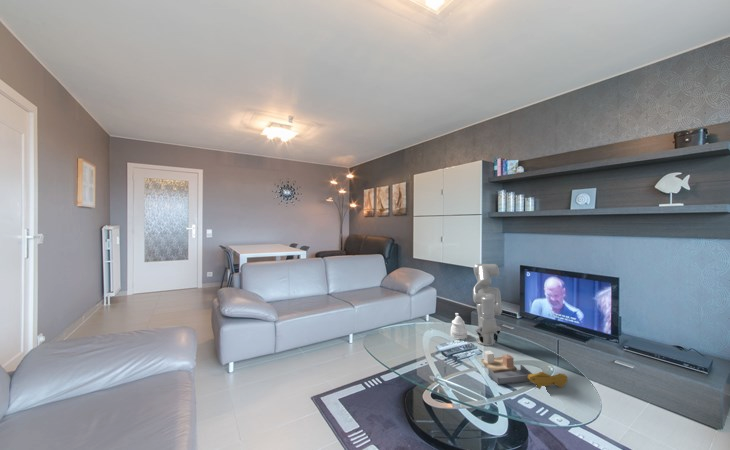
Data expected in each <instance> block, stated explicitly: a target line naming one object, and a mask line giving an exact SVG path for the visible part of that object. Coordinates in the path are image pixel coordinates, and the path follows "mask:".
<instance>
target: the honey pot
mask: <svg viewBox="0 0 730 450" xmlns="http://www.w3.org/2000/svg"><path fill="white" fill-rule="evenodd" d="M454 314H455V318H454V319H452V321H451V326H450V338H452V337H453V338H452V339H454V338H459V339H463V340H466V339H468V329H467V327H466V324H465V321H464V320H463V318H462V317H461V316H460V315H459V313H458V312H455V313H454ZM465 338H466V339H465Z"/></svg>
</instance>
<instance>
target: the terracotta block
mask: <svg viewBox="0 0 730 450" xmlns="http://www.w3.org/2000/svg"><path fill="white" fill-rule="evenodd" d="M502 357H503V365H504V366H506V367H507V368H509V367H514V366H515V364H514V357H513V356H512V355H511V354H503V355H502Z"/></svg>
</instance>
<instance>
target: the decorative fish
mask: <svg viewBox="0 0 730 450" xmlns="http://www.w3.org/2000/svg"><path fill="white" fill-rule="evenodd" d="M528 379H529V380H530V382H531V383H533V384H534V385H535V386H536V385H537V388H538V390H541V389H542V387H548V386H549V387H550V386H553V385H556V386H557V387H559V388H562V387H564V386H565V385H566V383H567V382H568V381H569V380H568V379H569V378H568V375H566V374H564V373H558V374H554V375H549V374H547V373H546V372H544V371H539V372H537V373H532V374H529V375H528Z"/></svg>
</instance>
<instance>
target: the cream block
mask: <svg viewBox="0 0 730 450" xmlns="http://www.w3.org/2000/svg"><path fill="white" fill-rule="evenodd" d="M494 358H495V353H494V352H493V351H492V350H484V351H483V359H484V360H485V361H486V362H487V363H494Z"/></svg>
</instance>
